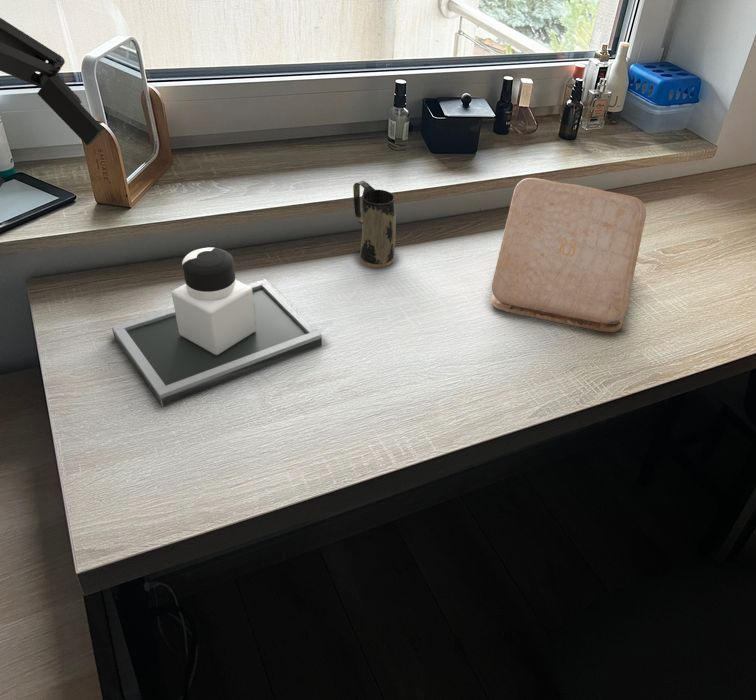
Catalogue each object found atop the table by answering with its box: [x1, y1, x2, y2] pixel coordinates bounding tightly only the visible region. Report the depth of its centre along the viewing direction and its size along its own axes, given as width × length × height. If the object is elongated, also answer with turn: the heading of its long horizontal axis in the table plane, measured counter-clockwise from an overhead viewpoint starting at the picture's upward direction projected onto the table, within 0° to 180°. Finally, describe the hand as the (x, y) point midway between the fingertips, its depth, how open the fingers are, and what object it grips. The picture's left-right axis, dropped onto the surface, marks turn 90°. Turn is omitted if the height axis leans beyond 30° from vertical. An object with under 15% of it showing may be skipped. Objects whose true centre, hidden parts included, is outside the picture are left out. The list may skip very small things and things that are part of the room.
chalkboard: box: [111, 278, 323, 408], centre depth 97 cm, size 22×16×2 cm
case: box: [491, 177, 647, 333], centre depth 111 cm, size 20×21×16 cm
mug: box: [352, 180, 397, 268], centre depth 115 cm, size 8×6×12 cm
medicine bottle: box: [171, 247, 256, 355], centre depth 93 cm, size 7×7×12 cm
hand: (49, 162), depth 70 cm, fingers open, 13 cm apart
